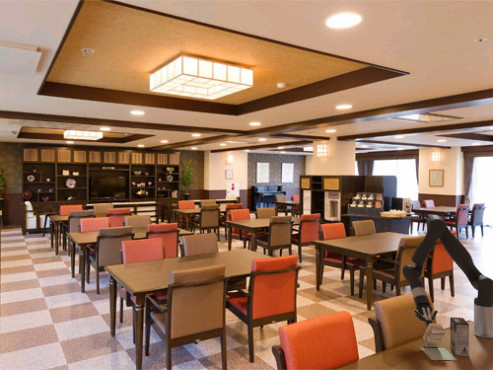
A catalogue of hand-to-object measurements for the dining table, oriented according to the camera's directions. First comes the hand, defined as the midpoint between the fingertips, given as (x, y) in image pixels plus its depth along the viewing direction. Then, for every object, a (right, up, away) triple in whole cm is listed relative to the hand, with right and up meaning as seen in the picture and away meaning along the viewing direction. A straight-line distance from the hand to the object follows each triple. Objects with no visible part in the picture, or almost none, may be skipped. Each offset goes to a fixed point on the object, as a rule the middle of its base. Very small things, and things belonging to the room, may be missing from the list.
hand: (430, 328), depth 197 cm
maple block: (0, -8, +1) cm, 9 cm away
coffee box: (+12, -10, -6) cm, 17 cm away
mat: (0, -10, -8) cm, 13 cm away
